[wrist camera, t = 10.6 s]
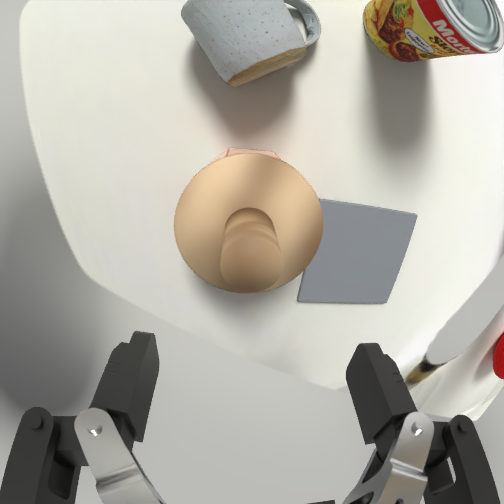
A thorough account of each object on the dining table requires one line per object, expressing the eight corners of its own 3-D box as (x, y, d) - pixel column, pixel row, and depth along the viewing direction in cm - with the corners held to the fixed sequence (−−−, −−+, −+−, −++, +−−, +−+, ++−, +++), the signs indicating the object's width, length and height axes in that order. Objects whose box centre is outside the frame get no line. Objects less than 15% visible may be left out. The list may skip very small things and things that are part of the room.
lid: (331, 163, 20) (364, 184, 14) (304, 288, 25) (320, 337, 19) (179, 147, 19) (154, 163, 13) (178, 279, 24) (163, 329, 18)
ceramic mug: (229, 95, 22) (227, 86, 15) (187, 27, 19) (170, -3, 12) (332, 52, 20) (366, 33, 14) (290, -14, 17) (308, -50, 10)
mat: (414, 213, 28) (417, 215, 28) (384, 300, 34) (386, 303, 33) (318, 198, 27) (320, 200, 27) (297, 298, 33) (297, 301, 32)
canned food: (380, 66, 21) (460, 53, 10) (350, -1, 17) (410, -48, 7) (435, 59, 20) (516, 54, 9) (409, -3, 16) (479, -31, 6)
